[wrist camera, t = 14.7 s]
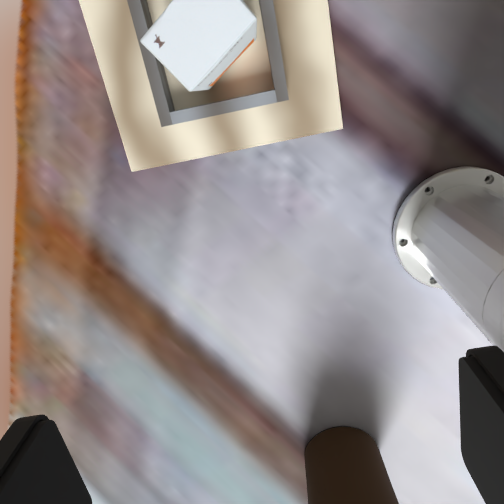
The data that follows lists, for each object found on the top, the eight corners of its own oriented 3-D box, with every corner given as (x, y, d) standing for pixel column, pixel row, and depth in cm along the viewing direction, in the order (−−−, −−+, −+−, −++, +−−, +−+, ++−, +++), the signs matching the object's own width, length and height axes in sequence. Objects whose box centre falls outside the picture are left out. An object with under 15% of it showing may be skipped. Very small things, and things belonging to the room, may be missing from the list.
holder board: (312, -110, 33) (317, -132, 29) (341, 127, 39) (348, 131, 36) (68, -47, 34) (48, -61, 31) (134, 169, 41) (123, 177, 38)
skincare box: (209, 91, 37) (188, 95, 26) (173, 53, 36) (135, 40, 25) (259, 38, 36) (259, 18, 24) (224, -4, 35) (206, -45, 23)
